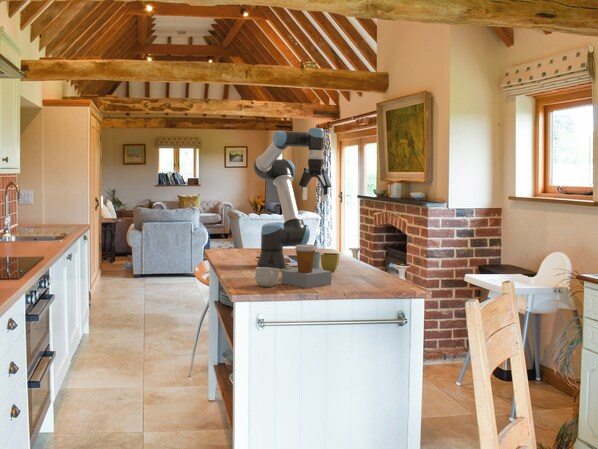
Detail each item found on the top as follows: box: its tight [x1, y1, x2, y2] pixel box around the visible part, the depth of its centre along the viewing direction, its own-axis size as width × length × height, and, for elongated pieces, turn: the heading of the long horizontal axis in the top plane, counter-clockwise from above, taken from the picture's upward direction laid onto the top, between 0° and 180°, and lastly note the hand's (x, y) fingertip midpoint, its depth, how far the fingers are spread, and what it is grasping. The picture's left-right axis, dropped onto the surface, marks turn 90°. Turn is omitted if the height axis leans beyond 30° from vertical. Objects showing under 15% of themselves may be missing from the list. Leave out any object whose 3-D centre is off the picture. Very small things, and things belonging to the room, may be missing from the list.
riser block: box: [281, 267, 333, 289], centre depth 299 cm, size 16×16×6 cm
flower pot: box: [320, 252, 340, 273], centre depth 340 cm, size 9×9×9 cm
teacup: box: [254, 266, 281, 288], centre depth 290 cm, size 14×11×8 cm
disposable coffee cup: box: [295, 244, 317, 273], centre depth 295 cm, size 10×10×12 cm
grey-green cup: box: [313, 251, 322, 269], centre depth 318 cm, size 10×10×12 cm
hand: (314, 200), depth 334 cm, fingers open, 13 cm apart
